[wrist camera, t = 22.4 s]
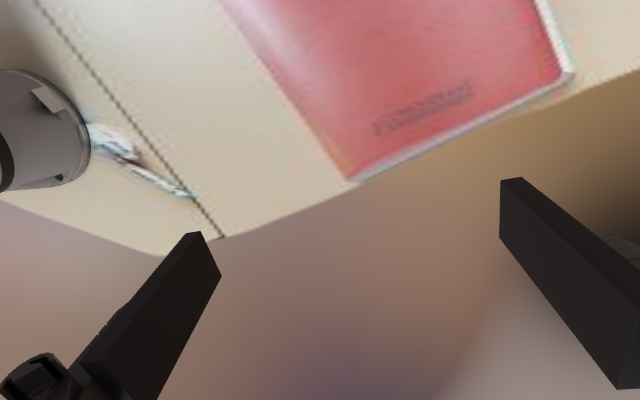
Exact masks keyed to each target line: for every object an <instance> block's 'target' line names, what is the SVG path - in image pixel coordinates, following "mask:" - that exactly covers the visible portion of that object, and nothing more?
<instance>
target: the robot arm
mask: <svg viewBox="0 0 640 400" xmlns="http://www.w3.org/2000/svg"><path fill="white" fill-rule="evenodd" d="M89 157H90V143H89V137H88V134H87V130H86V128H85V125H84V123H83V121H82V119H81V117H80V115H79V114H78V112H77V110H76V109H75V107H74V106H73V105H72V103H71V102H70V101H69V100H68V99H67V98H66V97H65V95H64V94H63V93H61V92H60V91H59V90H58V89H57V88H56V87H55V86H53V85H52V84H51V83H49V82H48V81H46V80H44V79H43V78H41V77H39V76H37V75H34V74H32V73H29V72H25V71H20V70H0V193H1V192H4V191H12V190H24V189H37V188H49V187H55V186H59V185H62V184H65V183H68V182H70V181H72V180H74V179H76V178H78V177H79V176H80V175H81V174H82V173H83V172H84V170H85V169H86V167H87V165H88V162H89ZM499 228H500V229H499V238H500V239H501V240H502V242H503V243H504V244H505V246H506V247H507V248H508V249H509V251H510V252H511V253H512V255H513V256H514V257H515V259H516V260H517V261H518V262H519V264H520V265H521V266H522V268H523V269H524V270H525V272H526V273H527V274H528V275H529V277H530V278H531V279H532V281H533V282H534V283H535V285H536V286H537V287H538V288H539V290H540V291H541V292H542V294H543V295H544V296H545V298H546V299H547V300H548V301H549V303H550V304H551V305H552V307H553V308H554V309H555V310H556V312H557V313H558V314H559V316H560V317H561V318H562V320H563V321H564V322H565V323H566V325H567V326H568V327H569V329H570V330H571V331H572V332H573V334H574V335H575V336H576V338H577V339H578V340H579V342H580V343H581V344H582V345H583V347H584V348H585V349H586V351H587V352H588V353H589V354H590V356H591V357H592V358H593V360H594V361H595V362H596V364H597V365H598V366H599V367H600V369H601V370H602V371H603V373H604V374H605V375H606V376H607V378H608V379H609V380H610V382H611V383H612V384H613V386H614V387H615V388H616V389H617V390H622V389H639V388H640V247H638V246H637V245H635V244H632V243H630V242H628V241H625V240H623V239H621V238H618V237H616V236H607V237H598V236H596V235H595V234H594V233H593V232H591V231H590V230H589V229H587V228H586V227H585V226H584V225H582V224H581V223H580V222H578V221H577V220H576V219H575V218H573V217H572V216H571V215H569V214H568V213H567V212H566V211H564V210H563V209H562V208H561V207H559V206H558V205H557V204H556V203H554V202H553V201H552V200H550V199H549V198H548V197H547V196H545V195H544V194H543V193H542V192H540V191H539V190H537V189H536V188H535V187H534V186H532V185H531V184H530V183H529V182H527V181H526V180H525V179H524V178H522V177H518V178H511V179H505V180H501V183H500V225H499ZM221 277H222V276H221V273H220V271H219V269H218V267H217V265H216V263H215V261H214V259H213V256H212V254H211V252H210V250H209V248H208V246H207V244H206V242H205V239H204V237H203V235H202V233H201V231H197V232H191V233H186V234H185V235H184V236H183V237H182V238H181V240H180V241H179V242H178V243H177V244H176V246H175V247H174V248H173V249H172V250H171V252H170V253H169V254H168V255H167V257H166V258H165V259H164V260H163V261H162V263H161V264H160V265H159V266H158V268H157V269H156V270H155V271H154V272H153V273H152V275H151V276H150V277H149V278H148V279H147V281H146V282H145V283H144V284H143V285H142V287H141V288H140V289H139V290H138V291H137V293H136V294H135V295H134V296H133V298H132V299H131V300H130V301H129V302H128V303H126V304H125V305H124V306H123V307H122V308H121V309H119V310H118V311H117V312H116V313H115V314H114V315H113V316H112V318H111V319H110V320H109V321H108V322H107V325H105V326H104V327H103V328H102V329H101V331H100V332H99V335H96V337H95V338H94V339H93V340H92V341H91V343H90V344H89V345H88V346H87V347H86V348H85V350H84V351H83V352H82V353H81V354H80V355H79V357H78V358H77V359H76V360H75V361H74V363H73V364H72V365H71V366H70V367H69V368H68V370H67V369H66V368H65V367H64V366H63V365H62V363H61V362H60V361H59V360H58V359H57V358H56V357H55V356H54V354H52V353H43V354H39V355H37V356H35V357H33V358H30V359H29V360H27V361H26V362H24V363H22V364H21V365H19V366H18V367H17V368H16V369H14V370H13V371H12V372H11V373H10V374H8V376H7V377H6V378H5V379H4V380H3V381H2V382H1V384H0V394H2V395H3V396H4V397H5V398H6V399H7V400H157V398H158V396H159V394H160V393H161V391H162V389H163V387H164V385H165V383H166V381H167V379H168V377H169V375H170V374H171V372H172V370H173V368H174V366H175V364H176V362H177V360H178V358H179V357H180V355H181V353H182V351H183V349H184V347H185V345H186V343H187V341H188V339H189V338H190V335H191V334H192V332H193V330H194V328H195V326H196V324H197V322H198V320H199V319H200V317H201V315H202V313H203V311H204V309H205V307H206V305H207V303H208V301H209V300H210V298H211V296H212V294H213V292H214V290H215V288H216V286H217V284H218V282H219V281H220V279H221Z"/></svg>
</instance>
